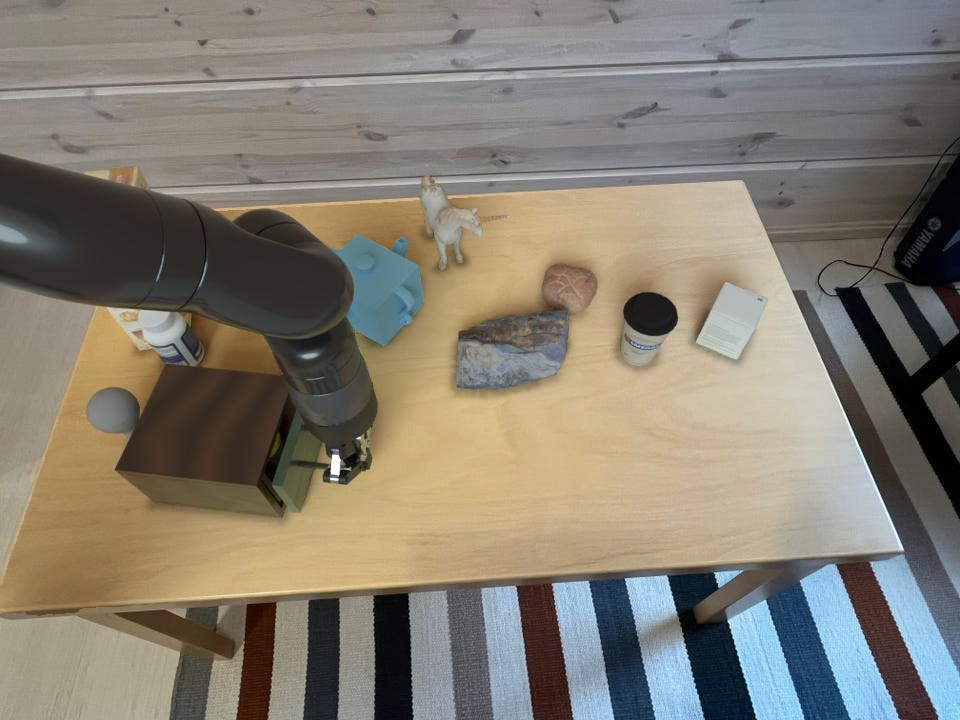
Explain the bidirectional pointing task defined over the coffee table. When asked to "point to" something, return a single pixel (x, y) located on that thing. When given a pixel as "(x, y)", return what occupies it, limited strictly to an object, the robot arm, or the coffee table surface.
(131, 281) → the robot arm
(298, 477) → the drawer
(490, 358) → the stone
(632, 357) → the coffee cup
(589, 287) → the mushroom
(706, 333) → the product box
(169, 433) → the cabinet
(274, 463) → the cap
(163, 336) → the pill bottle
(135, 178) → the coffeecake box
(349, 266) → the teapot
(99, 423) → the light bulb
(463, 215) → the unicorn figurine
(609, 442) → the coffee table surface
